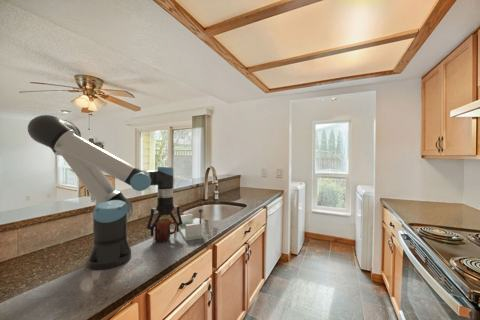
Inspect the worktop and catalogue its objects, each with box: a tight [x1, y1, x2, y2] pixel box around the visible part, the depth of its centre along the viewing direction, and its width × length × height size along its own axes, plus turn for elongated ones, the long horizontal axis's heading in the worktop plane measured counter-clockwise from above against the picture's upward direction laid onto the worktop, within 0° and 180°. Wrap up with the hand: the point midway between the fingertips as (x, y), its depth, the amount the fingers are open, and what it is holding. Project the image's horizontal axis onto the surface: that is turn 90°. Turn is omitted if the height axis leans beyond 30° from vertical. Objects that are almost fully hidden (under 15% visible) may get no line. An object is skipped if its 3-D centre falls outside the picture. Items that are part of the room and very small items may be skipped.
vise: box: [179, 208, 204, 242], centre depth 115 cm, size 10×22×15 cm, turn 27°
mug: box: [152, 217, 177, 244], centre depth 103 cm, size 12×9×10 cm
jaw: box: [179, 213, 194, 226], centre depth 126 cm, size 8×8×6 cm
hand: (164, 240), depth 103 cm, fingers closed on mug, 10 cm apart
